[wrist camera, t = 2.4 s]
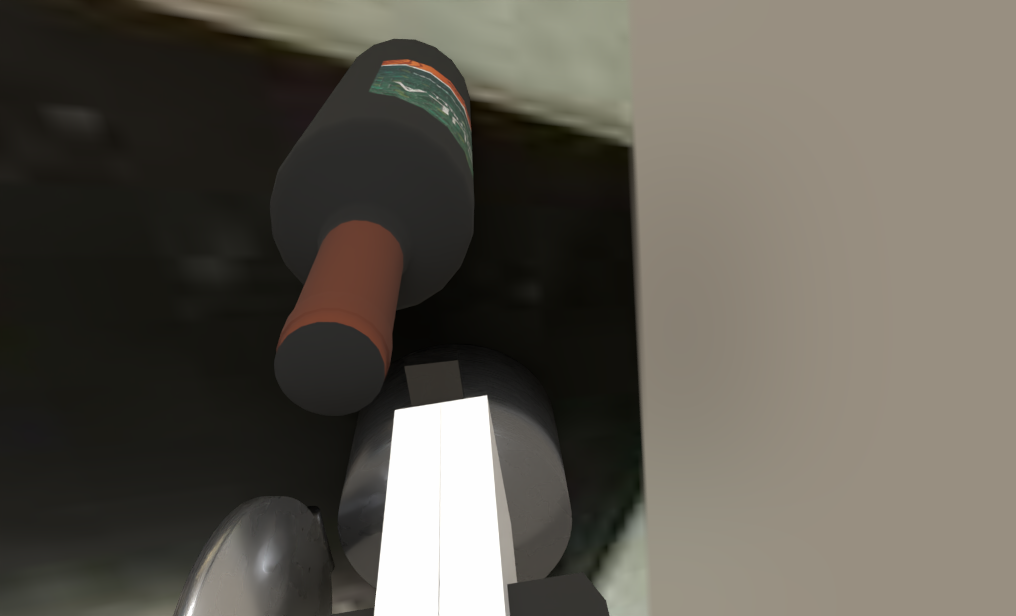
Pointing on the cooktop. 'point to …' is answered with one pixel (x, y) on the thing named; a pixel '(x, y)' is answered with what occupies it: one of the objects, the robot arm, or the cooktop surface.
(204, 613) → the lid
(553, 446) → the pot
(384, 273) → the wine bottle
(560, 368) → the cooktop surface
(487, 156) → the cooktop surface
